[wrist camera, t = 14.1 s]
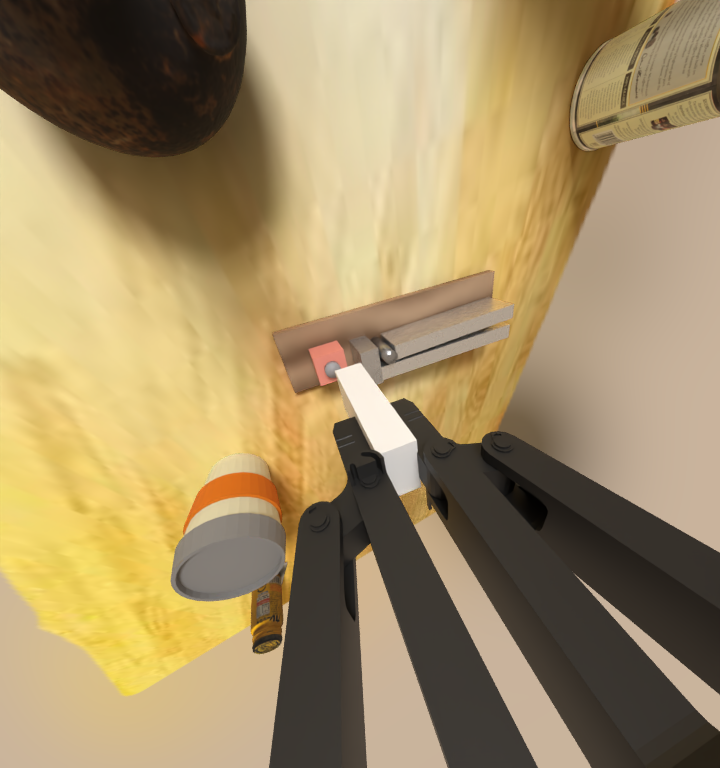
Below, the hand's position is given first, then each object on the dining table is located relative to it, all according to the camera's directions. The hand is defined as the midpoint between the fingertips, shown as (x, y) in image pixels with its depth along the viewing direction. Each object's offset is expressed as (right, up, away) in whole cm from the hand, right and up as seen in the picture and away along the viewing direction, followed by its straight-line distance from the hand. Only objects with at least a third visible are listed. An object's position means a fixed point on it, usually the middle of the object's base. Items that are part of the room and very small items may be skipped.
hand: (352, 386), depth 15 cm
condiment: (-20, -42, +44) cm, 64 cm away
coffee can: (+31, +36, +18) cm, 51 cm away
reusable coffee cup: (-19, -14, +28) cm, 37 cm away
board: (+5, +8, +24) cm, 26 cm away
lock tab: (-4, +4, +22) cm, 23 cm away
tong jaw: (+11, +9, +24) cm, 28 cm away
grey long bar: (+10, +8, +25) cm, 28 cm away
